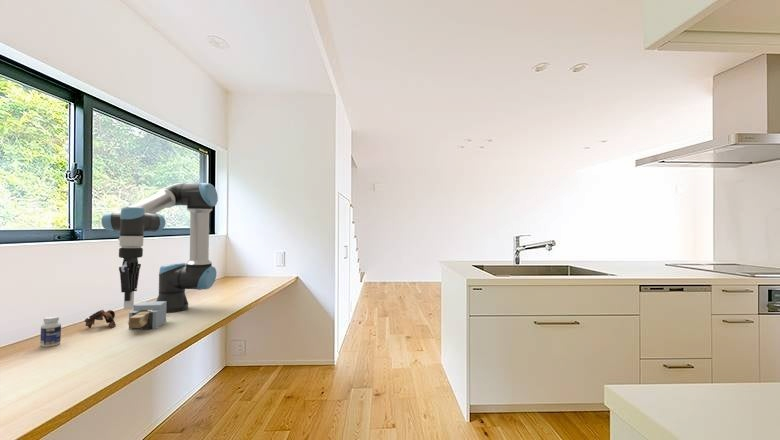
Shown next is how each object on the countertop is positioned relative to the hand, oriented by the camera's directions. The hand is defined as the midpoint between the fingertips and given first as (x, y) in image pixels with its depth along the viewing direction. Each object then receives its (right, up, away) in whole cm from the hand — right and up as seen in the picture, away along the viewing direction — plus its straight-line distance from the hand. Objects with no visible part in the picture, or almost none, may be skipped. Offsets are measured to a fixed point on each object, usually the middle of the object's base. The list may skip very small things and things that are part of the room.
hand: (128, 309), depth 143 cm
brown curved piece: (-21, -11, +15) cm, 28 cm away
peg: (-3, -9, +11) cm, 14 cm away
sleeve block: (-4, -11, +18) cm, 22 cm away
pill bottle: (-22, -11, -9) cm, 26 cm away
